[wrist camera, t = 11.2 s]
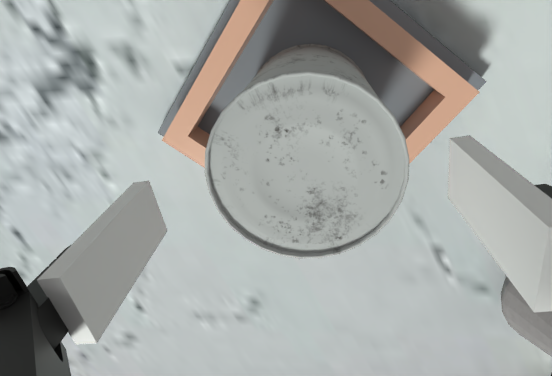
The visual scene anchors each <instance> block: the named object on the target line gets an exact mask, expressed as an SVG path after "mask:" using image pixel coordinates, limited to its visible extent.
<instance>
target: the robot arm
mask: <svg viewBox="0 0 552 376" xmlns="http://www.w3.org/2000/svg"><path fill="white" fill-rule="evenodd" d="M448 199H449V200H450V201H451V203H452V204H453V205H454V207H455V208H456V209H457V211H458V212H459V213H460V215H461V216H462V217H463V219H464V220H465V221H466V223H467V224H468V225H469V227H470V228H471V229H472V231H473V232H474V233H475V235H476V236H477V237H478V239H479V240H480V241H481V243H482V244H483V245H484V246H485V248H486V249H487V250H488V252H489V253H490V254H491V256H492V257H493V258H494V260H495V261H496V262H497V264H498V265H499V266H500V268H501V269H502V270H503V272H504V273H505V274H506V276H507V277H508V278H509V280H510V281H511V282H512V284H513V285H514V286H515V288H516V289H517V290H518V292H519V293H520V294H521V296H522V297H523V298H524V300H525V301H526V302H527V304H528V305H529V306H530V308H531V309H532V310H533V312H549V311H552V186H549V185H547V184H540V185H533V184H532V183H531V182H529V181H528V180H527V179H526V178H524V177H523V176H522V175H520V174H519V173H518V172H517V171H515V170H514V169H513V168H511V167H510V166H509V165H507V164H506V163H505V162H504V161H502V160H501V159H500V158H498V157H497V156H496V155H495V154H493V153H492V152H491V151H489V150H488V149H487V148H485V147H484V146H483V145H482V144H480V143H479V142H478V141H476V140H475V139H474V138H472V137H471V136H470V135H469V136H462V137H455V138H450V144H449V177H448ZM166 232H167V228H166V225H165V223H164V220H163V217H162V215H161V212H160V209H159V207H158V204H157V201H156V198H155V196H154V193H153V190H152V188H151V185H150V182H149V181H143V182H136V183H133V184H132V185H131V186H130V187H129V188H128V189H127V190H126V191H125V192H124V193H123V194H122V195H121V196H120V197H119V198H118V199H117V200H116V201H115V202H114V203H113V204H112V205H111V206H110V207H109V208H108V209H107V210H106V211H105V212H104V213H103V214H102V215H101V216H100V217H99V218H98V219H97V220H96V221H95V222H94V223H93V224H92V225H91V226H90V227H89V228H88V229H87V230H86V231H85V232H84V233H83V234H82V235H81V236H80V237H79V238H78V239H77V240H76V241H75V242H74V243H73V244H72V245H70V246H69V247H67V248H66V249H65V250H64V251H63V252H62V253H61V254H60V255H59V256H58V257H57V259H55V260H54V261H53V262H52V263H51V264H50V265H49V267H47V268H46V269H45V270H44V271H43V272H42V273H41V274H40V275H39V276H38V277H37V278H36V279H35V280H33V281H32V282H31V283H30V284H29V285H28V286H26V285H25V283H24V282H23V280H22V278H21V277H20V275H19V274H18V272H17V270H16V269H15V268H13V267H7V268H1V269H0V376H71V373H70V368H69V363H68V358H67V353H66V349H65V347H64V346H63V344H62V342H61V340H62V339H63V338H64V336H65V335H66V334H67V332H69V334H70V336H71V337H72V339H73V341H74V342H75V344H76V345H78V344H93V343H97V342H98V341H99V339H100V337H101V336H102V334H103V333H104V331H105V330H106V328H107V326H108V325H109V323H110V322H111V320H112V318H113V317H114V315H115V314H116V312H117V310H118V309H119V307H120V306H121V304H122V302H123V301H124V299H125V298H126V296H127V294H128V293H129V291H130V290H131V288H132V286H133V285H134V283H135V282H136V280H137V279H138V277H139V275H140V274H141V272H142V271H143V269H144V267H145V266H146V264H147V263H148V261H149V259H150V258H151V256H152V255H153V253H154V251H155V250H156V248H157V247H158V245H159V243H160V242H161V240H162V239H163V237H164V235H165V234H166ZM551 376H552V374H551Z"/></svg>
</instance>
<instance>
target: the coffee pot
mask: <svg viewBox="0 0 552 376" xmlns="http://www.w3.org/2000/svg"><path fill="white" fill-rule="evenodd" d="M501 302H502V312H503V314H504V316H505V318H506V320H507V322H508V324H509V325H510V326H511V327H512V328H513V329H514V330H515V331H516V332H517V333H519V334H520V335H521V336H522V337H524V338H525V339H527V340H528V341H530V342H531V343H533V344H534V345H536V346H537V347H538V348H540V349H541V350H543V351H544V352H546V353H547V354H549V355H550V356H552V311H549V312H533V310H532V309H531V308H530V306H529V305H528V304H527V302H526V301H525V300H524V298H523V297H522V296H521V294H520V293H519V292H518V290H517V289H516V288H515V286H514V285H513V284H512V282H511V281H510V280H509V278H508V277H507V278H506V279H505V281H504V285H503V288H502V291H501Z"/></svg>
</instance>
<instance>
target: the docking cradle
mask: <svg viewBox="0 0 552 376" xmlns="http://www.w3.org/2000/svg"><path fill="white" fill-rule="evenodd" d="M304 44H317V45H324V46H328V47H331V48H333V49H336V50H338V51H341V52H342V53H343V54H345V55H346V56H348V57H349V58H350V59H352V60H353V61H354V63H355V64H356V65H357V66H358V67H359V68H360V70H361V71H362V72H363V74H364V76H365V78H366V80H367V82H368V83H369V84H370V86H371V87H372V89H373V90H374V92H375V93H376V94H377V96H378V97H379V99H380V100H381V101H382V102H383V103H384V104H385V105H386V107H387V108H388V109H389V110H390V111H391V112H392V114H393V115H394V116H395V118H396V120H397V122H398V124H399V126H400V128H401V130H402V132H403V134H404V136H405V139H406V144H407V149H408V154H409V164H410V163H411V162H412V161H413V160H414V159H415V157H416V156H417V155H418V154H419V153H420V152H421V151H422V150H423V149H424V148H425V147H426V146H427V145H428V144H429V143H430V142H431V141H432V140H433V139H434V138H435V137H436V136H437V135H438V134H439V133H440V132H441V131H442V130H443V129H444V128H445V127H446V126H447V125H448V124H449V123H450V122H451V121H452V120H453V119H454V118H455V117H456V116H457V115H458V114H459V113H460V112H461V111H462V109H463V108H464V107H465V106H466V105H467V104H468V103H469V102H470V101H471V100H472V99H473V98H474V97H475V96H476V95H477V94H478V93H479V91H478V90H479V89H480V88H481V87H482V86H483V85H484V84H485V83H486V81H485V80H484V79H483V78H482V77H481V76H479V75H478V74H477V73H476V72H475V71H474V70H472V69H471V68H470V67H469V66H468V65H466V64H465V63H464V62H463V61H462V60H460V59H459V58H458V57H457V56H456V55H455V54H453V53H452V52H451V51H450V50H449V49H447V48H446V47H445V46H444V45H443V44H441V43H440V42H439V41H438V40H437V39H436V38H434V37H433V36H432V35H431V34H430V33H428V32H427V31H426V30H425V29H424V28H422V27H421V26H420V25H419V24H418V23H416V22H415V21H414V20H413V19H412V18H411V17H409V16H408V15H407V14H406V13H405V12H403V11H402V10H401V9H400V8H399V7H397V6H396V5H395V4H394V3H393V2H392V1H390V0H230V2H229V3H228V5H227V7H226V9H225V11H224V13H223V14H222V16H221V18H220V20H219V22H218V23H217V25H216V27H215V29H214V31H213V33H212V34H211V36H210V38H209V40H208V42H207V44H206V45H205V47H204V49H203V51H202V53H201V54H200V56H199V58H198V60H197V62H196V64H195V65H194V67H193V69H192V71H191V73H190V75H189V76H188V78H187V80H186V82H185V84H184V85H183V87H182V89H181V91H180V93H179V95H178V96H177V98H176V100H175V102H174V104H173V106H172V107H171V109H170V111H169V113H168V115H167V116H166V118H165V120H164V122H163V124H162V126H161V127H160V129H159V131H158V133H159V134H160V135H162V136H163V139H162V141H164V142H165V143H167V144H168V145H170V146H172V147H173V148H175V149H176V150H178V151H179V152H181V153H182V154H184V155H185V156H187V157H189V158H190V159H192V160H193V161H195V162H196V163H198V164H199V165H201V166H203V167H204V168H205V150H206V147H207V143H208V139H209V136H210V132H211V130H212V128H213V126H214V124H215V123H216V121H217V119H218V117H219V116H220V114H221V112H222V111H223V110H224V109H225V108H226V107H227V106H228V105H229V103H230V102H231V101H232V100H233V99H234V98H235V97H236V96H237V95H238V94H239V93H241V92H242V91H243V90H244V89H245V88H246V86H247V85H248V84H249V83H250V82H251V81H252V80H253V78H254V77H255V76H256V75H257V73H258V71H259V69H260V68H261V67H262V66H263V65H264V64H265V63H266V62H267V61H268V60H269V59H270V58H271V57H273V56H275V55H276V54H278V53H279V52H281V51H282V50H285V49H288V48H290V47H293V46H296V45H304Z"/></svg>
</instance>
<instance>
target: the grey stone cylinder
mask: <svg viewBox="0 0 552 376" xmlns="http://www.w3.org/2000/svg"><path fill="white" fill-rule="evenodd" d="M205 176H206V181H207V185H208V190H209V193H210V195H211V198H212V200H213V202H214V204H215V206H216V208H217V210H218V212H219V213H220V214H221V216H222V217H223V218H224V219H225V221H226V222H227V223H228V225H229V226H230V227H231V228H232V229H234V230H235V231H236V232H237V233H238V234H239V235H241V236H242V237H243V238H244V239H246V240H247V241H249V242H251V243H253V244H254V245H256V246H258V247H260V248H261V249H264V250H267V251H270V252H273V253H275V254H278V255H282V256H288V257H295V258H322V257H327V256H332V255H336V254H341V253H343V252H346V251H348V250H350V249H353V248H355V247H357V246H360V245H361V244H363V243H364V242H366V241H367V240H369V239H370V238H372V237H373V236H375V235H376V234H377V233H378V232H379V231H380V230H381V229H382V228H383V227H384V226H385V225H386V224H387V223H388V222H389V221H390V220H391V218H392V217H393V215H394V213H395V212H396V210H397V208H398V207H399V205H400V203H401V202H402V199H403V196H404V193H405V189H406V186H407V183H408V176H409V154H408V149H407V144H406V139H405V136H404V134H403V132H402V130H401V128H400V126H399V124H398V122H397V120H396V118H395V116H394V115H393V114H392V112H391V111H390V110H389V109H388V108H387V107H386V105H385V104H384V103H383V102H382V101H381V100H380V99H379V97H378V96H377V94H376V93H375V92H374V90H373V89H372V87H371V86H370V84H369V83H368V82H367V80H366V78H365V76H364V74H363V72H362V71H361V70H360V68H359V67H358V66H357V65H356V64H355V63H354V61H353V60H352V59H350V58H349V57H348V56H346V55H345V54H343V53H342V52H341V51H338V50H336V49H333V48H331V47H328V46H324V45H317V44H304V45H296V46H293V47H290V48H288V49H285V50H282V51H281V52H279V53H278V54H276V55H275V56H273V57H271V58H270V59H269V60H268V61H267V62H266V63H265V64H264V65H263V66H262V67H261V68H260V69H259V71H258V73H257V75H256V76H255V77H254V78H253V80H252V81H251V82H250V83H249V84H248V85H247V86H246V88H245V89H244V90H243V91H242V92H241V93H239V94H238V95H237V96H236V97H235V98H234V99H233V100H232V101H231V102H230V103H229V105H228V106H227V107H226V108H225V109H224V110H223V111H222V112H221V114H220V116H219V117H218V119H217V121H216V123H215V124H214V126H213V128H212V130H211V132H210V136H209V139H208V143H207V147H206V150H205Z"/></svg>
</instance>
